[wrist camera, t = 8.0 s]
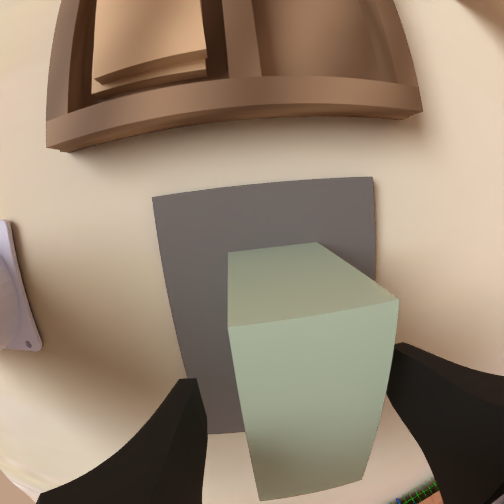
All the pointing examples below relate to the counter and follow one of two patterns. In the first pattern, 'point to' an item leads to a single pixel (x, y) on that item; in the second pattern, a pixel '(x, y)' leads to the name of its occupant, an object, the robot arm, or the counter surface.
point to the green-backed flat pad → (435, 500)
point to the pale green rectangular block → (308, 364)
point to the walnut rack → (242, 70)
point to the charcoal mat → (239, 239)
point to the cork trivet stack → (146, 44)
